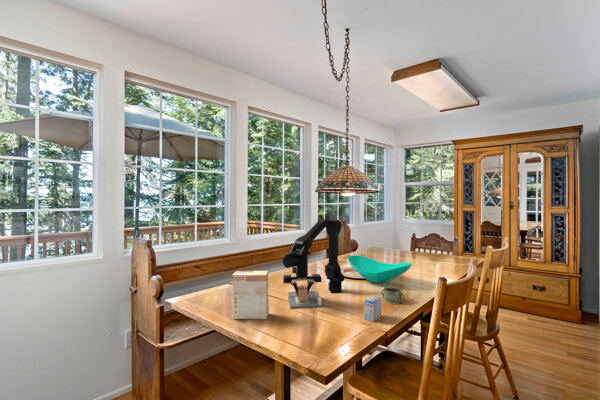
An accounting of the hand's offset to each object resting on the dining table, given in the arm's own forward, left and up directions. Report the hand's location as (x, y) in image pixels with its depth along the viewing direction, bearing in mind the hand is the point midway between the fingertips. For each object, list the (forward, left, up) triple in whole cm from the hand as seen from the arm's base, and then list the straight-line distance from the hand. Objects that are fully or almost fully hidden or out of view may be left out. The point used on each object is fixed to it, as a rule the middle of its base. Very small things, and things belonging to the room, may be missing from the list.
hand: (302, 295), depth 154 cm
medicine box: (-28, +23, -4) cm, 36 cm away
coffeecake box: (+25, +15, -4) cm, 29 cm away
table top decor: (-50, -30, -4) cm, 59 cm away
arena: (-1, +1, -3) cm, 4 cm away
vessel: (-45, +4, -4) cm, 46 cm away
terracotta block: (0, 0, -1) cm, 1 cm away
